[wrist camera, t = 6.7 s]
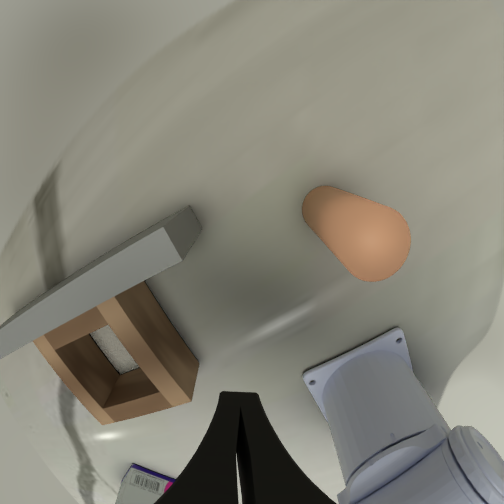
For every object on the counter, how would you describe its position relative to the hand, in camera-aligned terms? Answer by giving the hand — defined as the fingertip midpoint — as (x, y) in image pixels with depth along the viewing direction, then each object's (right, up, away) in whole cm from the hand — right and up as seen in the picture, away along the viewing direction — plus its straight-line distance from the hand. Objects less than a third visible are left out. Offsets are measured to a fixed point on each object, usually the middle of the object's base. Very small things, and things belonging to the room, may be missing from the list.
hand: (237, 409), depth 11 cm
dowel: (+5, +9, +7) cm, 12 cm away
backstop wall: (-11, +4, +8) cm, 14 cm away
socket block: (-9, 0, +10) cm, 13 cm away
